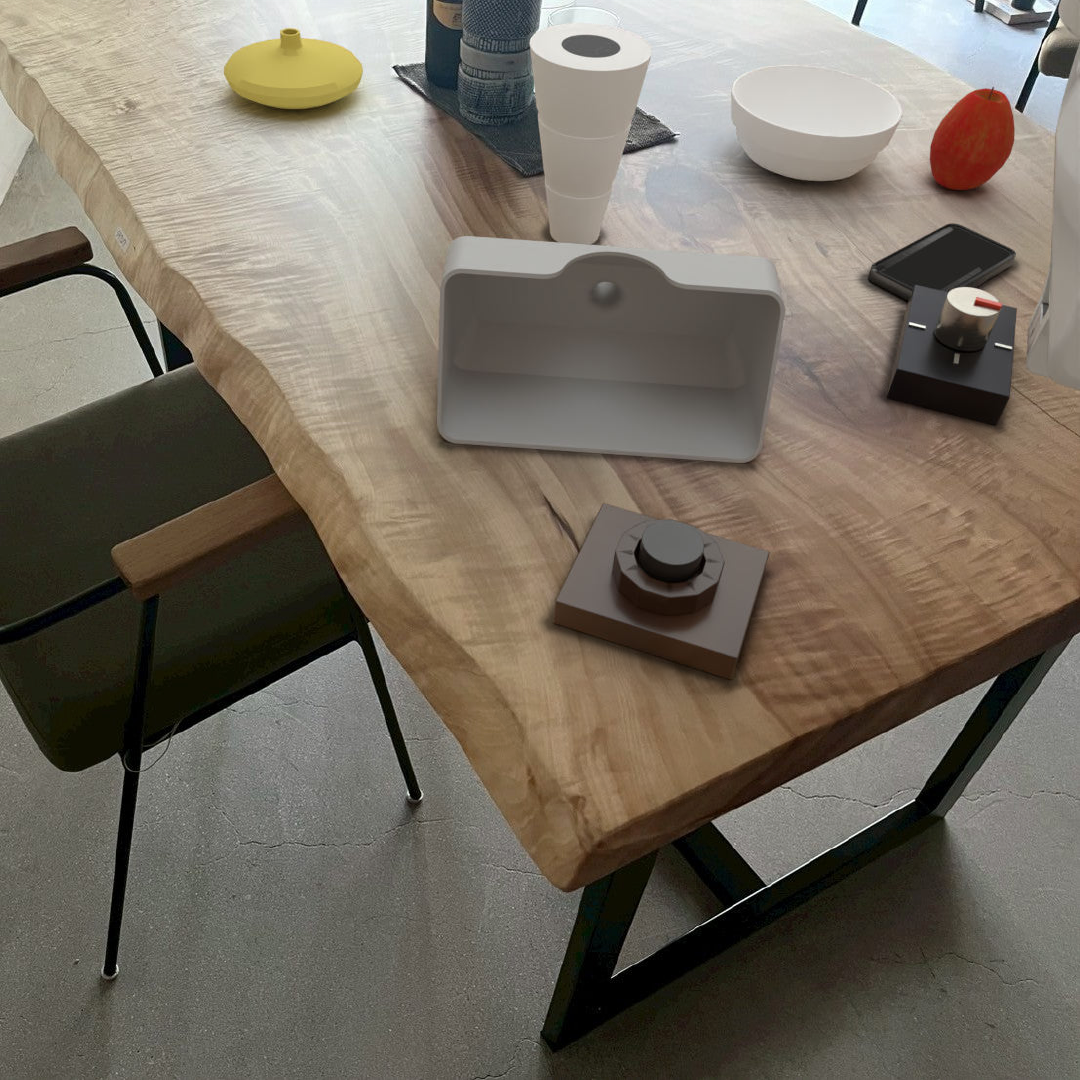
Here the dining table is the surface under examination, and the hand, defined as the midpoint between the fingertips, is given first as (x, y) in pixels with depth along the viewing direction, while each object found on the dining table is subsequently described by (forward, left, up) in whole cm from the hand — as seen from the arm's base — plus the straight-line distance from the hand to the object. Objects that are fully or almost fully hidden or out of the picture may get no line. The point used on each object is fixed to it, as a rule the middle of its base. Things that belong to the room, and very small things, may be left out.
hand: (1046, 357), depth 42 cm
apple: (0, -80, -29) cm, 85 cm away
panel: (-2, -44, -29) cm, 53 cm away
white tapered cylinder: (+35, -51, -29) cm, 68 cm away
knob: (-2, -44, -26) cm, 51 cm away
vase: (+75, -67, -29) cm, 105 cm away
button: (+14, -8, -26) cm, 30 cm away
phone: (0, -60, -29) cm, 67 cm away
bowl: (+17, -77, -29) cm, 84 cm away
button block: (+14, -8, -29) cm, 33 cm away
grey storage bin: (+25, -28, -29) cm, 48 cm away
